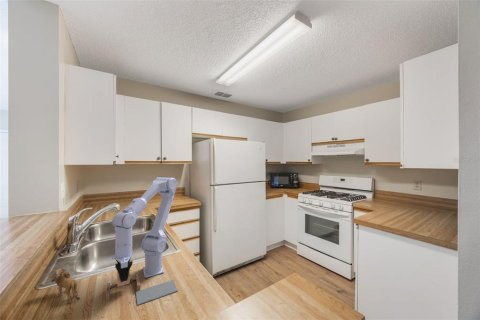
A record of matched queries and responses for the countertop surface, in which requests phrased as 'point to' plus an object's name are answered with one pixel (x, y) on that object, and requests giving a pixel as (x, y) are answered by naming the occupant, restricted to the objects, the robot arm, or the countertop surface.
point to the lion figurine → (65, 283)
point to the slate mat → (155, 292)
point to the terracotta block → (123, 281)
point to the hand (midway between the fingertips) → (123, 277)
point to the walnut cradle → (116, 286)
